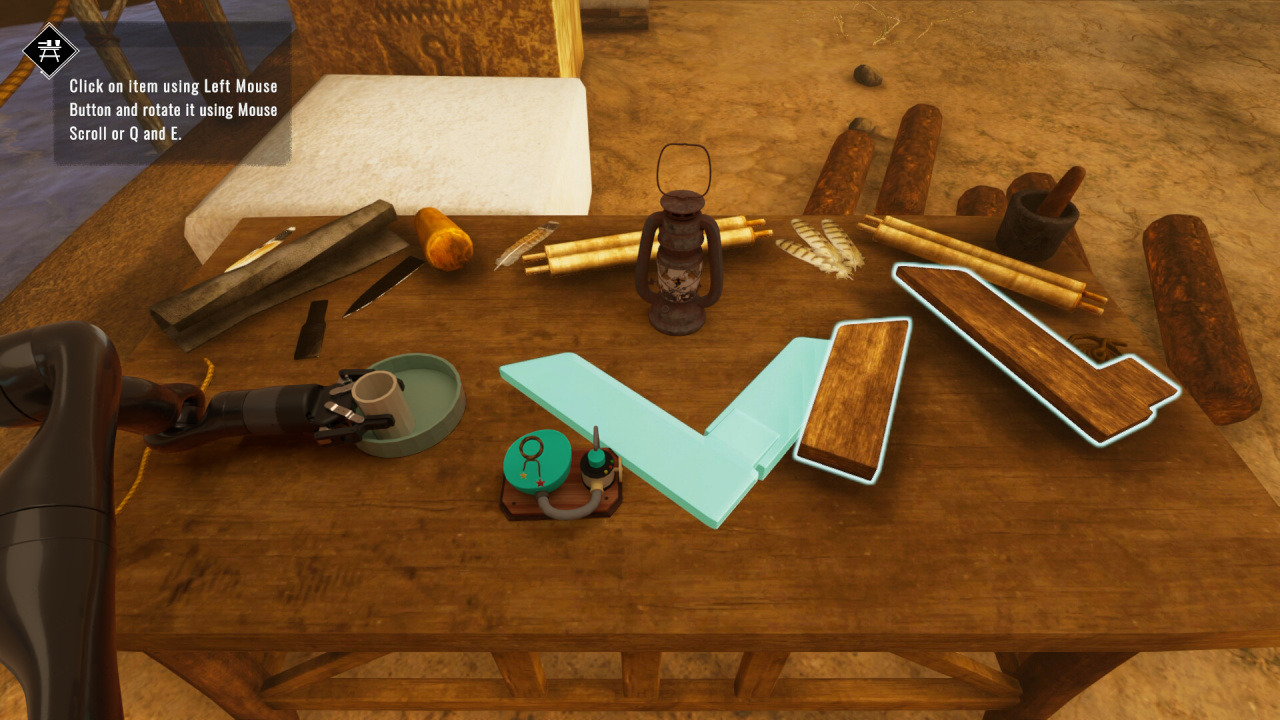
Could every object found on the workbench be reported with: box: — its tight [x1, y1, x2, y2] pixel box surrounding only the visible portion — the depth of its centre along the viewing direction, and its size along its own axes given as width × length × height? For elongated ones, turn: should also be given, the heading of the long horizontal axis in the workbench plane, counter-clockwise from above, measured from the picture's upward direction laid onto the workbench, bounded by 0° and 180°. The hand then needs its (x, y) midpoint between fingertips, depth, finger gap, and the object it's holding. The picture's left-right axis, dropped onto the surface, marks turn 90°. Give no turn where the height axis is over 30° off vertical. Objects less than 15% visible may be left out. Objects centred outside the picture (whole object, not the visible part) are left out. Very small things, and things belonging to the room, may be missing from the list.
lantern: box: [634, 142, 724, 337], centre depth 99 cm, size 11×16×35 cm
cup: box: [351, 371, 415, 440], centre depth 89 cm, size 6×6×10 cm
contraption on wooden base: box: [498, 425, 624, 522], centre depth 79 cm, size 14×18×15 cm
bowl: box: [341, 352, 467, 459], centre depth 94 cm, size 19×19×4 cm
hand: (398, 402), depth 88 cm, fingers closed on cup, 6 cm apart
